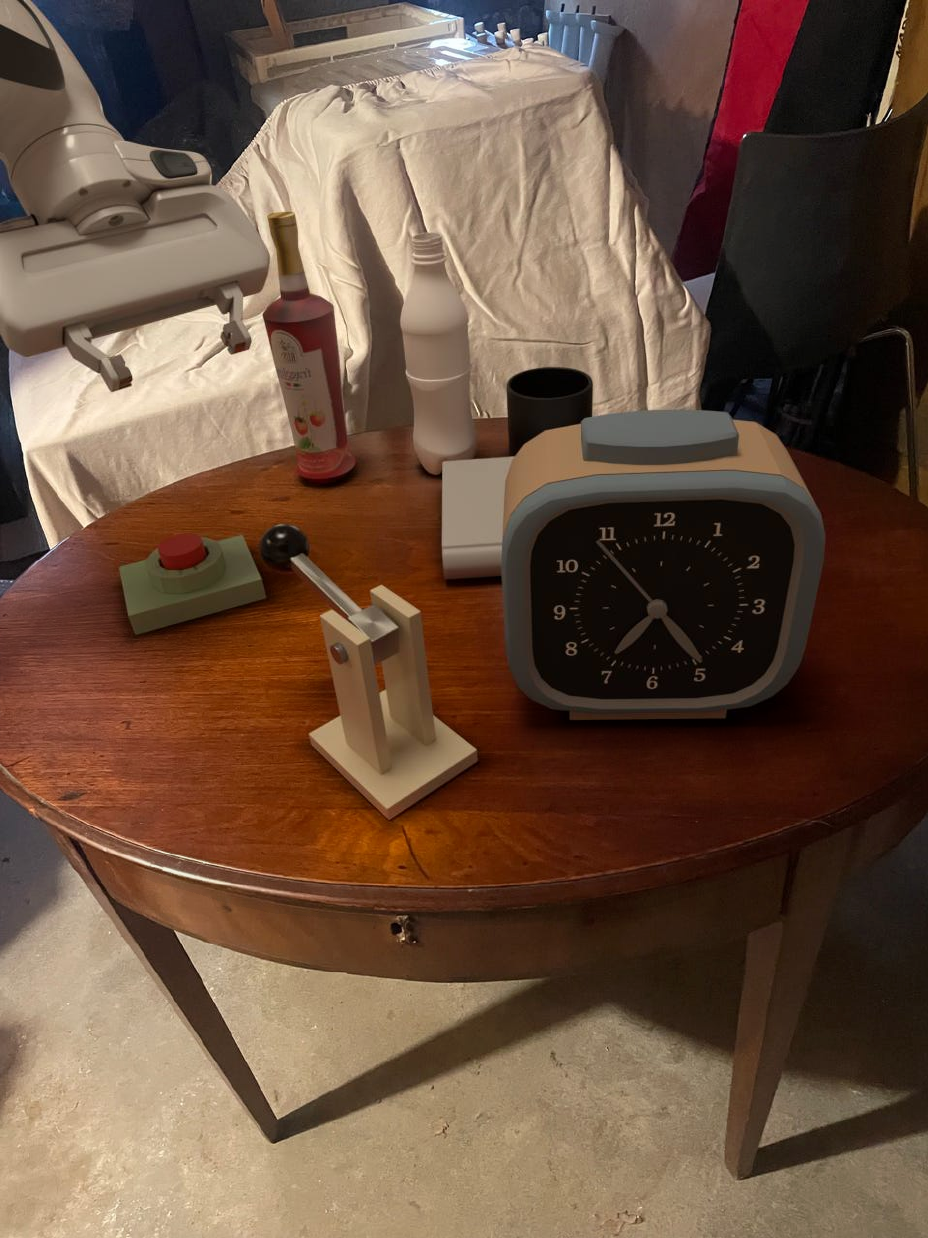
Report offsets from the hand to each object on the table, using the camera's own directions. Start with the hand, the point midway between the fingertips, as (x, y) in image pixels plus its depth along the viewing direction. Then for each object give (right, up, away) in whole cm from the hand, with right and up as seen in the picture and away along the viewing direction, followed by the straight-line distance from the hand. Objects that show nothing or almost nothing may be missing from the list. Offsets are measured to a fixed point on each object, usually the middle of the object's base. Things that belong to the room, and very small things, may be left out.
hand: (184, 366), depth 64 cm
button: (-6, -13, +18) cm, 23 cm away
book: (+30, -9, +25) cm, 40 cm away
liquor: (+5, -2, +38) cm, 38 cm away
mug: (+30, +1, +38) cm, 49 cm away
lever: (+11, -17, -1) cm, 21 cm away
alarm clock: (+34, -24, +5) cm, 42 cm away
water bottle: (+18, -1, +38) cm, 42 cm away
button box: (-5, -16, +20) cm, 26 cm away
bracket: (+15, -28, +1) cm, 32 cm away
